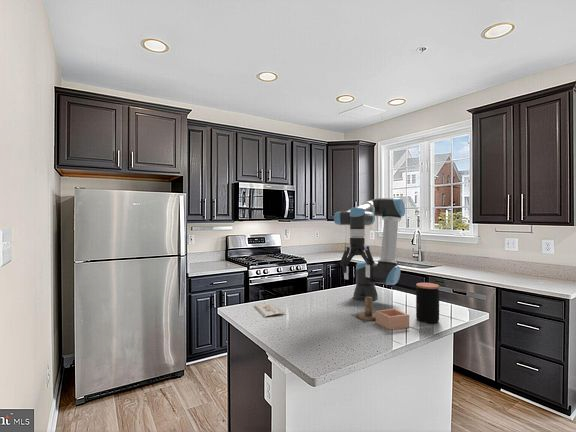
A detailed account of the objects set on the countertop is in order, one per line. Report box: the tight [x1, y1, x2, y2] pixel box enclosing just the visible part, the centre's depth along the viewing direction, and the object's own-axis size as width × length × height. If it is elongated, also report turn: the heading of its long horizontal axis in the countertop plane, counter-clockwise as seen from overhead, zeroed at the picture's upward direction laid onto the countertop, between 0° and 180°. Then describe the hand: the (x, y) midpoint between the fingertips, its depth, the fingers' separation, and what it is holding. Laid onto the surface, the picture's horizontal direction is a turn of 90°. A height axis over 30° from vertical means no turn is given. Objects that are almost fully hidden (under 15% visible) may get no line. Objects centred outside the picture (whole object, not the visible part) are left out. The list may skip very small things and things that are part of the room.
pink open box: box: [375, 308, 410, 330], centre depth 160 cm, size 11×11×6 cm
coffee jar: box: [415, 282, 440, 325], centre depth 167 cm, size 11×11×18 cm
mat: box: [349, 313, 375, 324], centre depth 172 cm, size 14×14×1 cm
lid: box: [355, 297, 376, 322], centre depth 172 cm, size 12×12×10 cm
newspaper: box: [253, 302, 287, 318], centre depth 185 cm, size 23×12×2 cm, turn 20°
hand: (357, 278), depth 173 cm, fingers open, 13 cm apart
